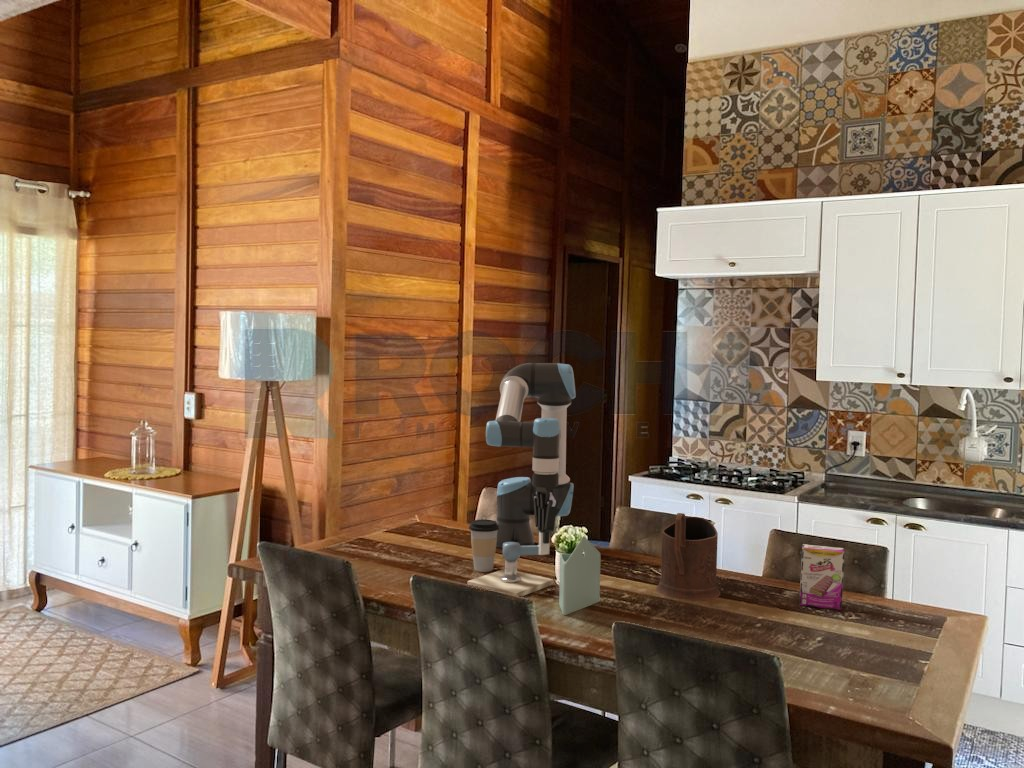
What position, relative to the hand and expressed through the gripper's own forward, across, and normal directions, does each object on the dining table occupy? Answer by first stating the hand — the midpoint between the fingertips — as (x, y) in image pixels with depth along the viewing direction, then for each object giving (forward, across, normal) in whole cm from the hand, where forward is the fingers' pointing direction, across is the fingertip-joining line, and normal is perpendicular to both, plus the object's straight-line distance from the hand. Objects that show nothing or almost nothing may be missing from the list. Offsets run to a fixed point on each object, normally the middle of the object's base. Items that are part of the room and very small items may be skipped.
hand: (544, 553), depth 248 cm
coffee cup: (+11, +27, +8) cm, 30 cm away
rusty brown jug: (+11, -16, -38) cm, 43 cm away
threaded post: (+9, +8, +7) cm, 14 cm away
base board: (+11, +8, +7) cm, 15 cm away
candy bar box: (+11, -38, -67) cm, 78 cm away
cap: (+2, +7, +3) cm, 8 cm away
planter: (+11, -14, -2) cm, 18 cm away
